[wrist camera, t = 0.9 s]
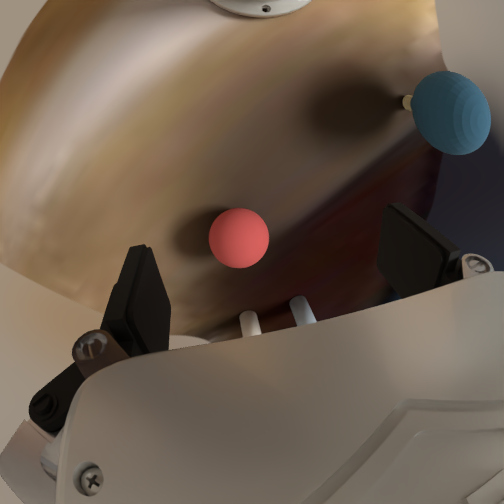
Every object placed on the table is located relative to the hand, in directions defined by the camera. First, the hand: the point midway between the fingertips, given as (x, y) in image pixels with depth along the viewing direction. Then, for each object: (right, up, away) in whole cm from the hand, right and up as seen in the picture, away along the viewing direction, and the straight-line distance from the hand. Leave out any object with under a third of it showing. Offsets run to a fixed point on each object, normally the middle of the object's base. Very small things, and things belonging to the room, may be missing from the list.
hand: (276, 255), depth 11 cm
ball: (-2, +2, +18) cm, 19 cm away
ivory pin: (-1, -9, +28) cm, 30 cm away
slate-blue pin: (+5, -7, +28) cm, 30 cm away
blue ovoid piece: (+17, +17, +16) cm, 29 cm away
